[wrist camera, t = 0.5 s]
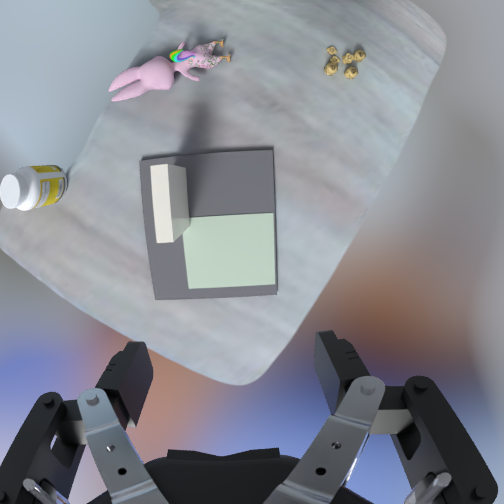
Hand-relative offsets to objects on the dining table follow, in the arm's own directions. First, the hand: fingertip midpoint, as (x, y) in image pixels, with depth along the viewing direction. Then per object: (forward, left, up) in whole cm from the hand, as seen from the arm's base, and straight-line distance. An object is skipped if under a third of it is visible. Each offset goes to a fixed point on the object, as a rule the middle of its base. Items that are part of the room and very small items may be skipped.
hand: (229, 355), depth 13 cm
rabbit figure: (-22, -7, -24) cm, 33 cm away
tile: (-6, -6, -23) cm, 24 cm away
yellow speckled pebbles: (-23, +15, -24) cm, 37 cm away
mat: (-2, -3, -24) cm, 24 cm away
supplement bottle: (-10, -25, -24) cm, 36 cm away
